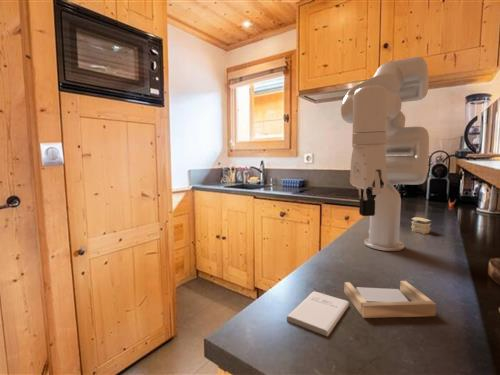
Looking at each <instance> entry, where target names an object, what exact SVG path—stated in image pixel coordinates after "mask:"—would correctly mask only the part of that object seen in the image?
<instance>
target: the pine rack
mask: <svg viewBox="0 0 500 375" xmlns="http://www.w3.org/2000/svg"><path fill="white" fill-rule="evenodd" d="M399 283H400V284H399V290H400V292H401V293H402V294H403V295H404V296H405V297H406V298H407V299H409V300H410V301H409V300H408V301H407V302H368V303H367V302H366V301H365V299H364V298H363V297H362V296H361V295H360V294H359V293H358V291H357V290H356V287H355V286H354V285H353V284H352V283H351V281H347V282H346V281H345V282H344V284H343V285H344V287H343V288H344V289H343V290H344V291H343V292H344V294H345V296H346V297H347V298H348V300H349V301H350V302H351V304H352V305H353V306H354V308H356V310H357V312H358V313H359V314H360V315H361V317H362V318H363V319H371V318H374V319H377V318H380V319H381V318H411V317H413V318H414V317H436V316H437V315H436V313H437V303H435V302H434V301H433V300H431V299H430V298H429V297H428V296H426V295H425V294H424V293H423V292H421V291H420V290H419V289H417V288H415V287H414V286H413V285H412V284H410V283H409V282H408V281H406V280H400V281H399Z"/></svg>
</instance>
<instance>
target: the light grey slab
mask: <svg viewBox="0 0 500 375" xmlns="http://www.w3.org/2000/svg"><path fill="white" fill-rule="evenodd" d="M355 289H356V290H357V291H358V293H359V294H360V295H361V296H362V297H363V298H364V299H365V301H366V302H367V303H368V302H407V301H409V300H408V298H407V297H406V296H405V295H404V294H403V293H402V292H400V288H379V287H361V286H358V287H357V286H356V287H355Z"/></svg>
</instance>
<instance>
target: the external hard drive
mask: <svg viewBox="0 0 500 375" xmlns="http://www.w3.org/2000/svg"><path fill="white" fill-rule="evenodd" d="M349 306H350V302H349V301H348V300H346V299H343V298H342V299H341V298H339V297H335V296H332V295H328V294H325V293H323V292H322V293H321V292H318V291H312V292H311V293H310V294H309V295H308V296H307V297H306V298H304V300H302V301H301V302H300V303H299V304H298V305H297V306H296V307H295V308H294V309H292V311H291V312H290V313H289V314H288V315H287V316H286V321H287V322H289V323H292V324H294V325H297V326H299V327H303V328H304V329H307V330H310V331H313V332H315V333H318V334H319V335H322V336H326V337H328V336H329V335H330V334H331V333H332V332H333V330H334V328H335V327H336V325H337V323H338V322H339V321H340V319H341V318H342V316H343V315H344V314H345V312H346V311H347V309H348V307H349Z"/></svg>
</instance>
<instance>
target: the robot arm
mask: <svg viewBox="0 0 500 375" xmlns="http://www.w3.org/2000/svg"><path fill="white" fill-rule="evenodd" d="M428 91H429V67H428V64H427V62H426V60H425V59H424V58H423V57H421V56H413V57H408V58H403V59H402V58H401V59H397V60H392V61H387V62H385V63H383V64H381V65H380V66H379V67H378V68H377V70H376V72H374V74H373V76H372V77H370V78H368V79H367V80H364V81H362V82H361V83H358V84H356V85H354V86H352V87H351V88H350V89H349V90H348V91H347V92H346V94H345V95H344V97H343V99H342V102H341V107H340V116H341V118H342V119H343V122H345V123H348V124H352V135H351V136H352V138H351V139H352V141H351V142H352V146H351V147H352V151H351V152H352V153H351V158H350V170H349V183H350V185H351V186H353V187H356V189H357V190H358V198H359V206H358V208H359V209H358V211H359V213H358V214H359V215H360V216H362V217H369V229H368V231H367V233H368V237H367V238H365V239H364V242H363V243H364V245H365V246H367V247H368V248H371V249H374V250H378V251H379V250H380V251H384V252H397V251H402V250H403V249H405V244H404V242H401V241H400V229H401V228H400V227H401V206H402V198H401V194H400V192H399V191H398V190H397V189H396V188H395V186H394V185H412V186H413V185H421V184H424V183H425V182H426V180H427V178H428V171H429V155H430V154H429V152H430V135H429V132H428V129H427V128H425V127H423V126H406V116H405V114H404V113H403V112H402V103H406V102H415V101H416V102H417V101H421V100H424V98H425V97H426V96H427V95H428Z"/></svg>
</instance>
